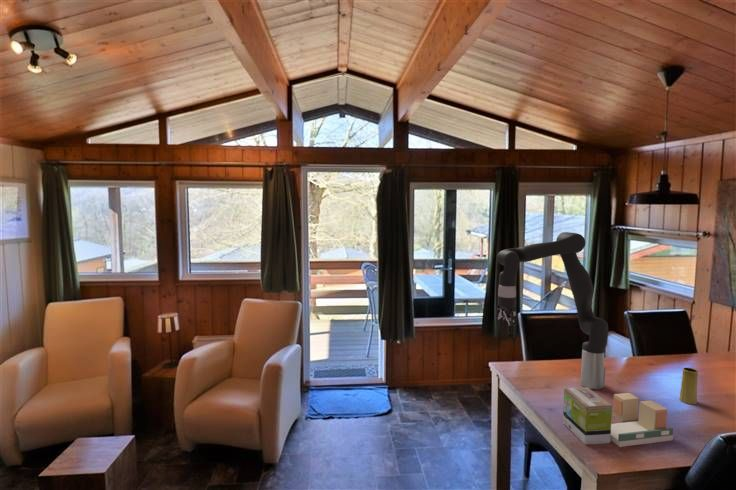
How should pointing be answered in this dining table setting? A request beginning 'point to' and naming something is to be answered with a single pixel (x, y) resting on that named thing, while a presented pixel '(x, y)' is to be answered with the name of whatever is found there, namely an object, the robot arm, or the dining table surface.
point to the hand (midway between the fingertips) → (505, 330)
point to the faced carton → (652, 415)
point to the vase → (689, 386)
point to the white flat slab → (638, 434)
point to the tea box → (587, 415)
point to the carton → (625, 407)
